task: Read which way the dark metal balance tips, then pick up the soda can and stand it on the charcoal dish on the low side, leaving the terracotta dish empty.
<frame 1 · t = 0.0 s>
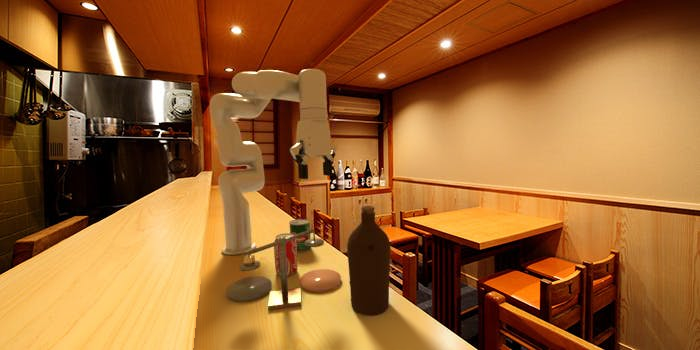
hand: (316, 177, 81), 31 cm above the counter, tool pointing down, fingers open, 9 cm apart
olive oil: (369, 305, 71), on the counter
dish low: (249, 290, 80), on the counter
dish high: (320, 281, 83), on the counter
balance: (285, 300, 74), on the counter
canned tomato: (301, 249, 111), on the counter
soda can: (286, 273, 90), on the counter
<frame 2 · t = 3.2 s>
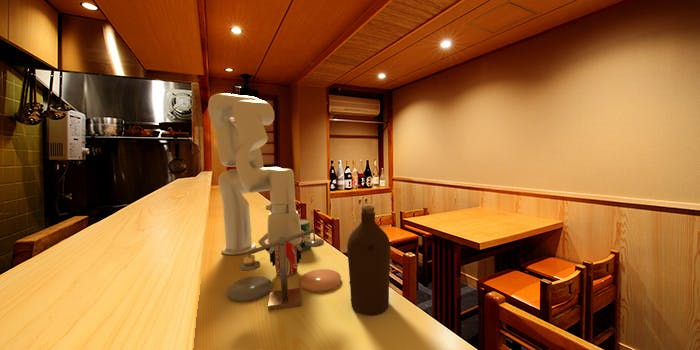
hand: (286, 262, 90), 3 cm above the counter, tool pointing down, fingers closed on soda can, 7 cm apart
soda can: (286, 273, 90), on the counter, touching gripper
everything else where it was.
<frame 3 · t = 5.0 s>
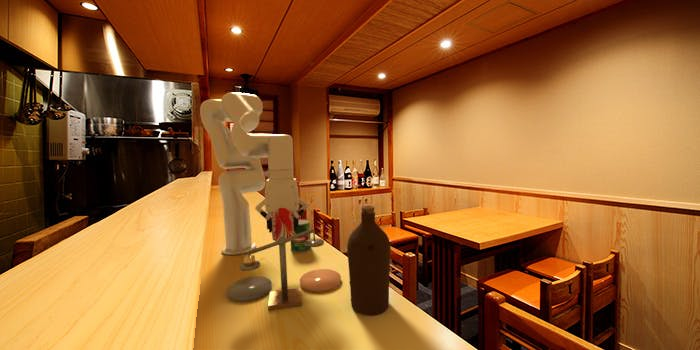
hand: (283, 230, 89), 14 cm above the counter, tool pointing down, fingers closed on soda can, 7 cm apart
soda can: (283, 240, 90), point 10 cm above the counter, touching gripper
everything else where it was.
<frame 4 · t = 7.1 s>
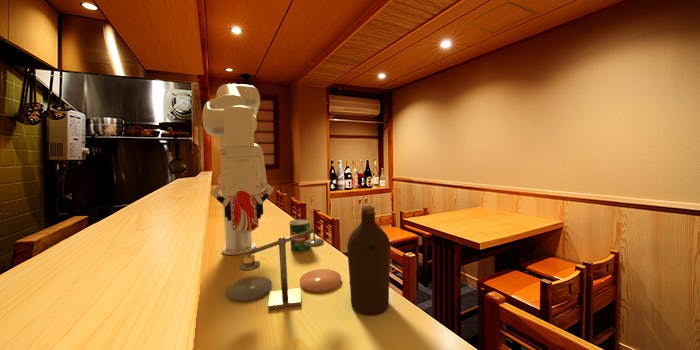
hand: (244, 218, 77), 21 cm above the counter, tool pointing down, fingers closed on soda can, 7 cm apart
soda can: (245, 230, 78), point 17 cm above the counter, touching gripper
everything else where it was.
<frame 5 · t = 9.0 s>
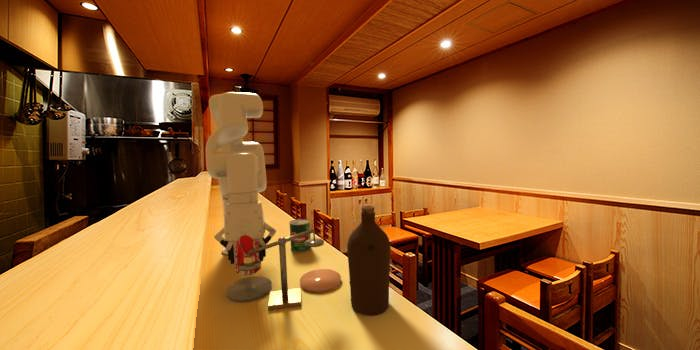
hand: (247, 260, 79), 9 cm above the counter, tool pointing down, fingers closed on soda can, 7 cm apart
soda can: (248, 272, 79), point 5 cm above the counter, touching gripper
everything else where it was.
when the fingers open (6 cm above the counter, at t = 10.7 s): soda can drops 1 cm, resting on dish low.
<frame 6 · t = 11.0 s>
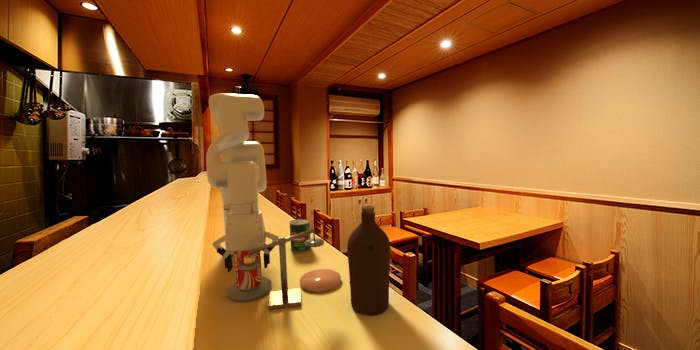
hand: (248, 268, 79), 6 cm above the counter, tool pointing down, fingers open, 9 cm apart
soda can: (249, 286, 80), point 1 cm above the counter, touching dish low
everything else where it was.
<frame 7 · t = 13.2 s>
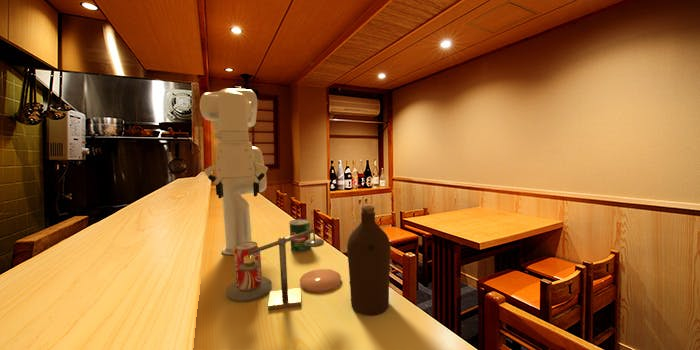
hand: (238, 196, 83), 26 cm above the counter, tool pointing down, fingers open, 9 cm apart
nothing on the counter moved.
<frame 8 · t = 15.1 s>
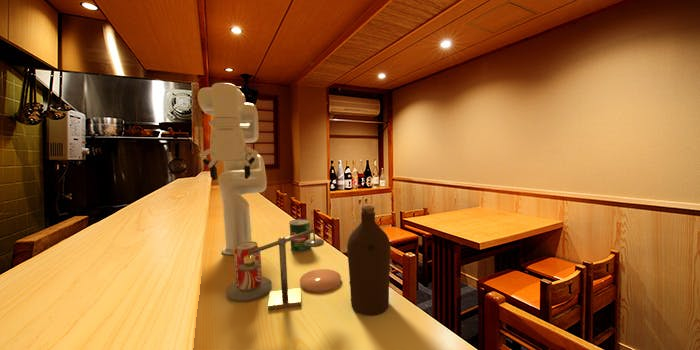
hand: (231, 179, 90), 30 cm above the counter, tool pointing down, fingers open, 9 cm apart
nothing on the counter moved.
at the end: soda can inside the target area on the dish low (0.1 cm from its centre), point 1.0 cm above the dish low's base; soda can tilted 0°; the gripper is holding nothing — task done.
